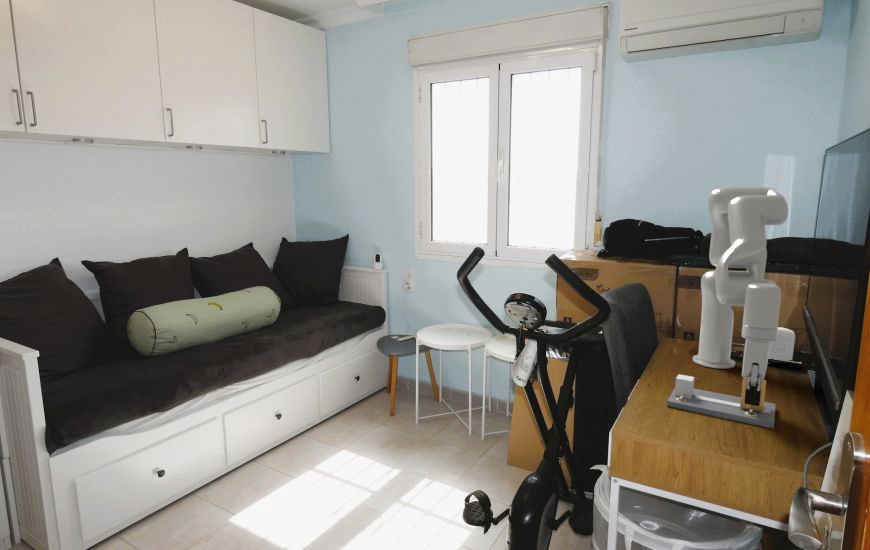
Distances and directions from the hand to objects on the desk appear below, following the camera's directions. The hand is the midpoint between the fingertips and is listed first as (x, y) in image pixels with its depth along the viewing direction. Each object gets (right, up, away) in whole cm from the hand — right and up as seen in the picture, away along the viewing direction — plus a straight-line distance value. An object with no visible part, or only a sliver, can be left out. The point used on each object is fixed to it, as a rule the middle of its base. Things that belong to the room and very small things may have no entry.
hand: (752, 399), depth 132 cm
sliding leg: (-1, -2, -1) cm, 2 cm away
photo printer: (+33, +2, +42) cm, 53 cm away
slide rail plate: (-6, -3, +4) cm, 8 cm away
